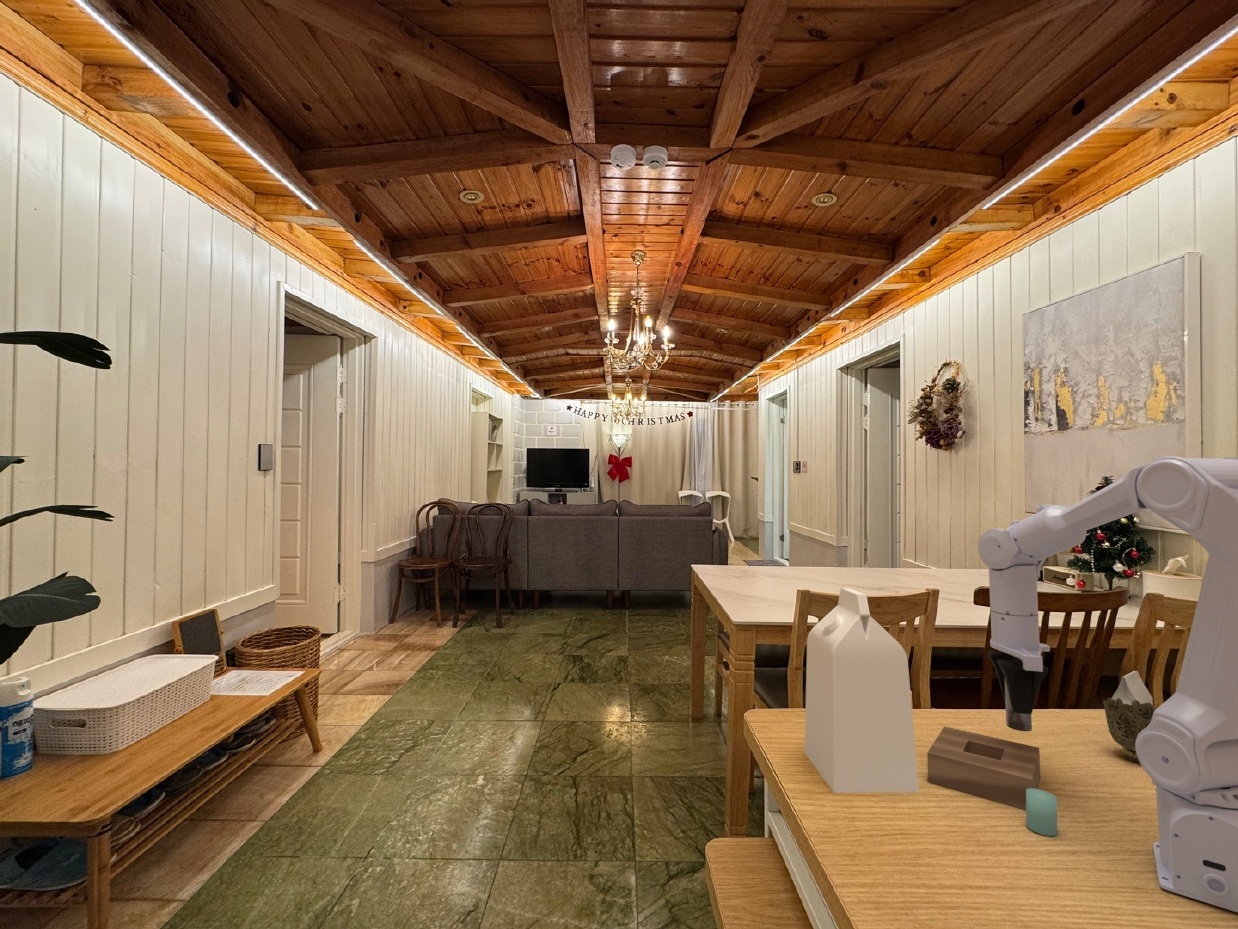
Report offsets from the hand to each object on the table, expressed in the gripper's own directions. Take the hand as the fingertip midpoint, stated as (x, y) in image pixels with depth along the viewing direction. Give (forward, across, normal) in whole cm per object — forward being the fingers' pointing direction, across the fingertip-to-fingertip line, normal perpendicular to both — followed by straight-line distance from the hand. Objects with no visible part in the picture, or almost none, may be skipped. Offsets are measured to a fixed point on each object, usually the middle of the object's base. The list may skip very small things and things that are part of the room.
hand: (1017, 708), depth 81 cm
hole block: (+10, -2, +5) cm, 11 cm away
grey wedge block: (+10, +23, -23) cm, 34 cm away
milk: (+10, -6, +22) cm, 25 cm away
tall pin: (+3, 0, 0) cm, 3 cm away
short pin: (+10, -14, +2) cm, 17 cm away
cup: (+10, +12, -19) cm, 24 cm away
